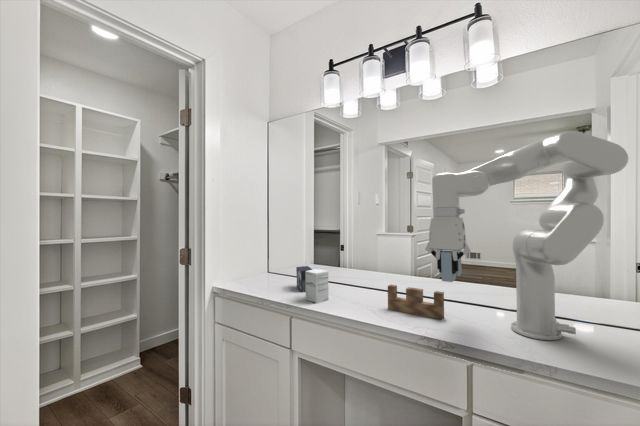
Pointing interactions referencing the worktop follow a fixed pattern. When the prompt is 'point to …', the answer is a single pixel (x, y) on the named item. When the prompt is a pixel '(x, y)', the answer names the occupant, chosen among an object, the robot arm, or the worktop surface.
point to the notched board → (416, 302)
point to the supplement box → (316, 285)
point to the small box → (302, 277)
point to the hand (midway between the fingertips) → (447, 272)
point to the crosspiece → (449, 266)
